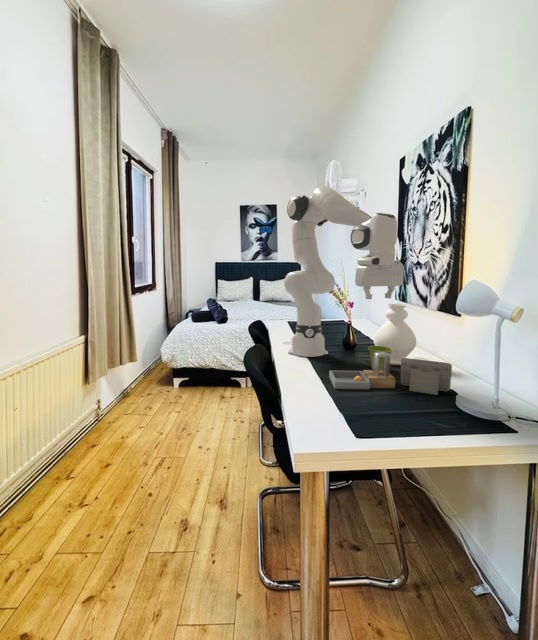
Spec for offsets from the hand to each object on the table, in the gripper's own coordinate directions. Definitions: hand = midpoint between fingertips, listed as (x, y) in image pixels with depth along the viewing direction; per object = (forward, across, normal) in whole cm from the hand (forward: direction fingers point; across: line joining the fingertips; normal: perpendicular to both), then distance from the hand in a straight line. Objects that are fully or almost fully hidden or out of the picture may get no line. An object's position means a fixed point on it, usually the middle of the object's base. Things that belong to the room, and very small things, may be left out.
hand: (378, 298), depth 138 cm
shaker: (+26, +2, +7) cm, 27 cm away
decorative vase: (+31, -27, -15) cm, 44 cm away
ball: (+28, +10, +4) cm, 30 cm away
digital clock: (+30, -7, +18) cm, 35 cm away
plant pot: (+30, -11, -8) cm, 33 cm away
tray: (+30, +12, +1) cm, 32 cm away
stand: (+30, +3, +6) cm, 31 cm away
